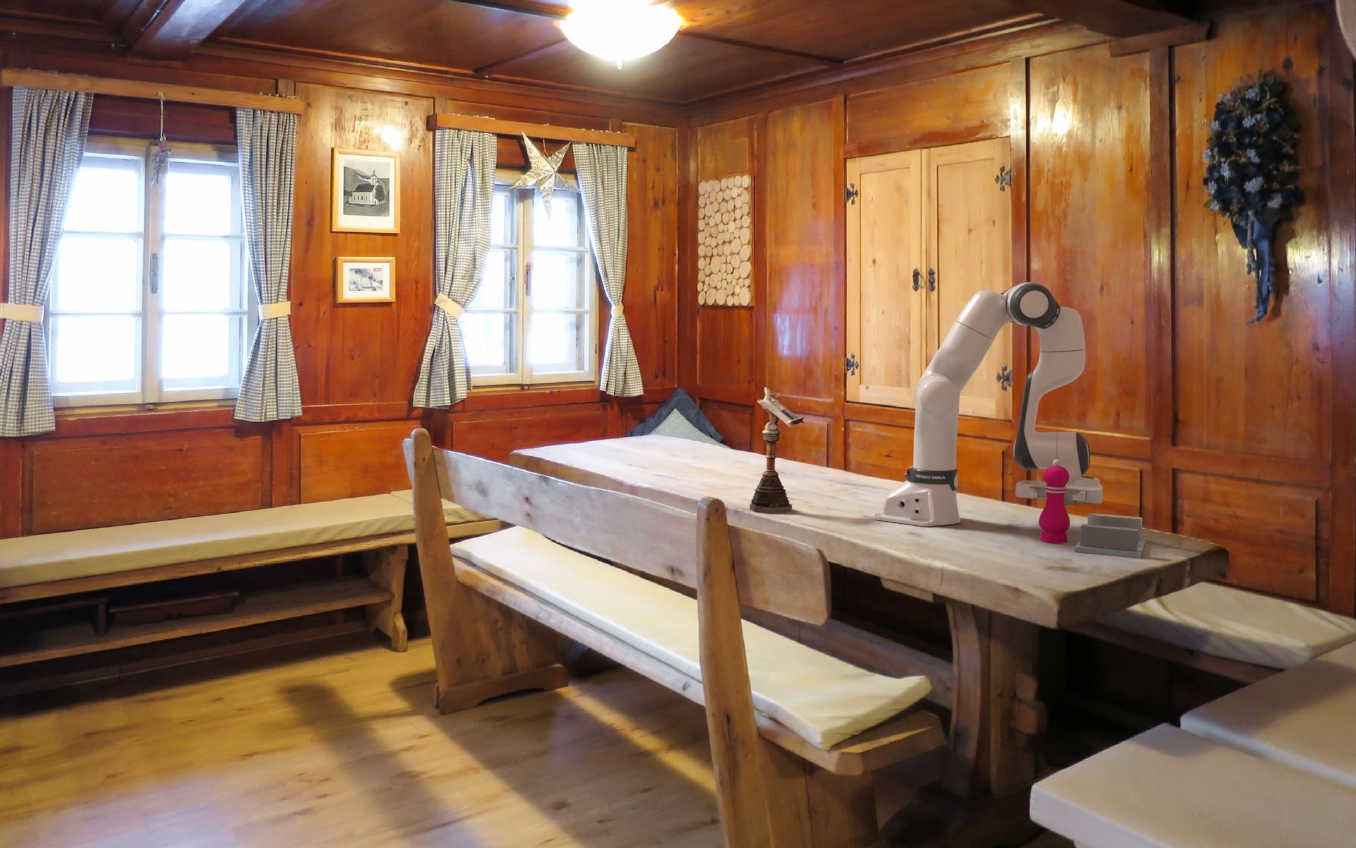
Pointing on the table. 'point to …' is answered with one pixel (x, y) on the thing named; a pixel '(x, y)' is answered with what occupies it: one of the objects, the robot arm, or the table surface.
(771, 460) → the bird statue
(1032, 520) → the table surface
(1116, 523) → the sliding jaw
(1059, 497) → the pepper mill
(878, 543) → the table surface
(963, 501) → the table surface
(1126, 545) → the vise
